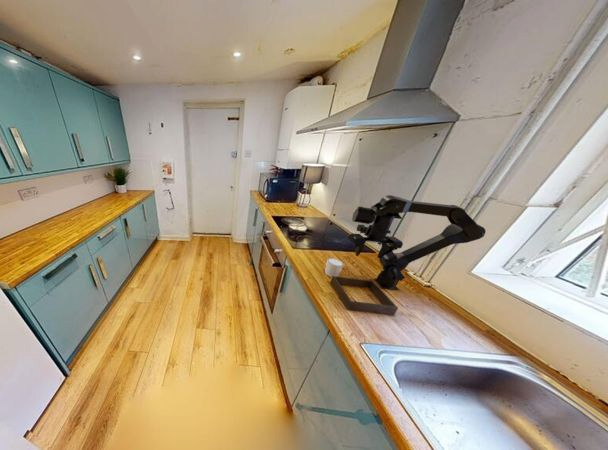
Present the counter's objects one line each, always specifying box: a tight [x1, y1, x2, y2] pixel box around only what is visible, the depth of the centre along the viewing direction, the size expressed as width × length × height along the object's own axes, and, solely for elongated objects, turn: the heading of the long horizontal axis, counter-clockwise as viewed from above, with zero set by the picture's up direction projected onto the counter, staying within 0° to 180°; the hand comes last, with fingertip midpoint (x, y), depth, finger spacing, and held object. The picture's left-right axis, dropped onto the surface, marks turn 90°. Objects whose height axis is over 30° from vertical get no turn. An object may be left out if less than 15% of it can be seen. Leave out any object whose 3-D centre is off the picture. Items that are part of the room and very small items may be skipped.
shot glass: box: [324, 257, 345, 278], centre depth 95 cm, size 7×7×7 cm
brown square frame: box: [329, 276, 399, 317], centre depth 82 cm, size 17×16×4 cm
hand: (367, 256), depth 89 cm, fingers open, 9 cm apart
